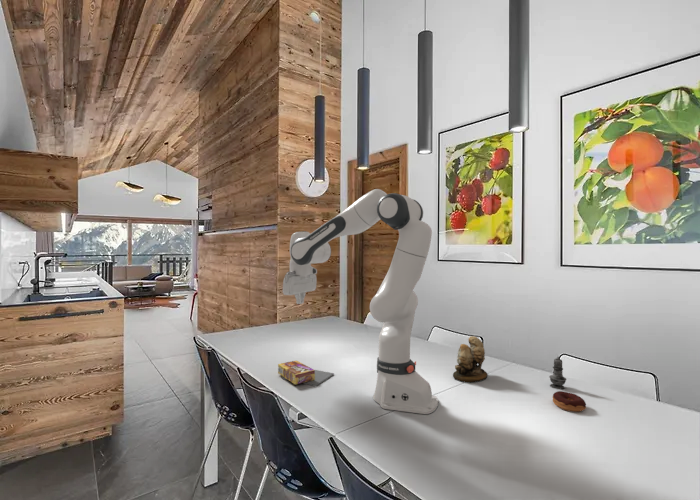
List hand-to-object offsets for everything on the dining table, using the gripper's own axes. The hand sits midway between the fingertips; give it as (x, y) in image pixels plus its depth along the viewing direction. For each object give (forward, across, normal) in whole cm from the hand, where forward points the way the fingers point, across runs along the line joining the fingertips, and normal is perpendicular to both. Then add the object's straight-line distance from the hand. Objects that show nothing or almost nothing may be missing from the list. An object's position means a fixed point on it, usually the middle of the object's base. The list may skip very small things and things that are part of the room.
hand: (300, 303), depth 152 cm
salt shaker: (+30, +36, -96) cm, 107 cm away
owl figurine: (+30, +32, -64) cm, 78 cm away
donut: (+31, +17, -98) cm, 104 cm away
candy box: (+27, -1, +5) cm, 27 cm away
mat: (+30, -1, -5) cm, 30 cm away
